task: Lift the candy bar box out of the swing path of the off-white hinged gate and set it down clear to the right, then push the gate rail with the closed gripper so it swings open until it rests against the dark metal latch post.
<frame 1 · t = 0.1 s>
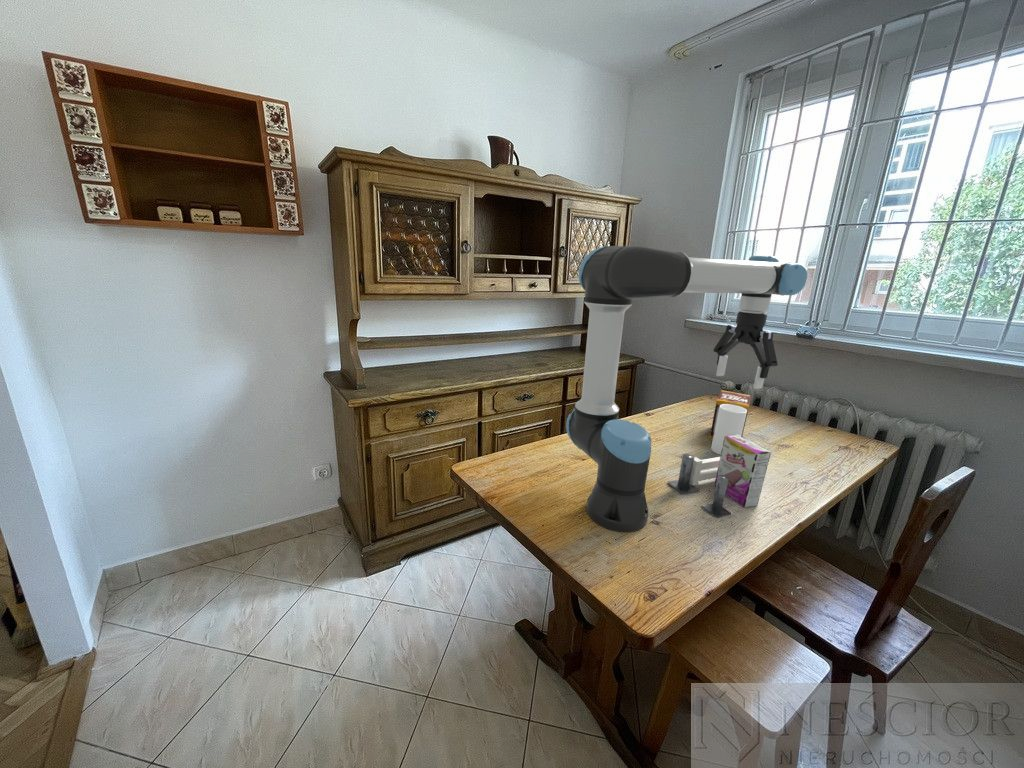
hand: (737, 381, 122), 28 cm above the table, fingers open, 13 cm apart
gate: (711, 468, 117), point 5 cm above the table, hinge at 0.0°
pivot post: (682, 487, 115), on the table
supplement box: (726, 436, 153), on the table
candy bar box: (734, 496, 112), on the table
cup: (723, 451, 140), on the table
latch post: (716, 511, 104), on the table
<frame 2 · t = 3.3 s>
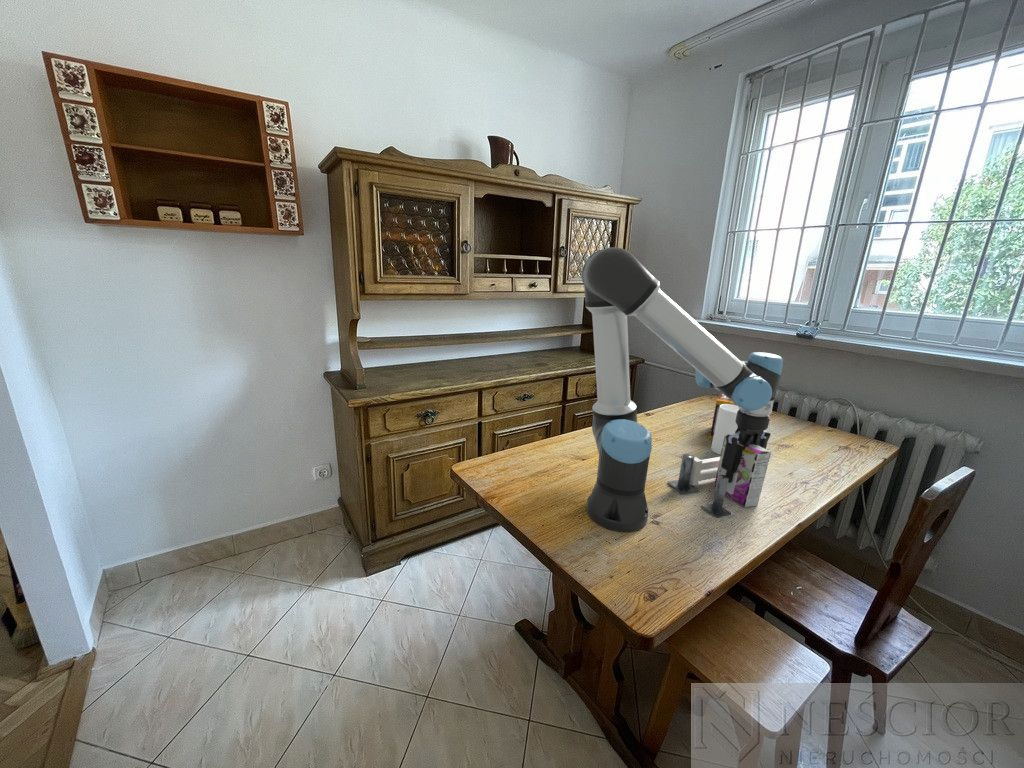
hand: (736, 489, 111), 2 cm above the table, fingers closed on candy bar box, 5 cm apart
candy bar box: (734, 496, 112), on the table, touching gripper
everything else where it was.
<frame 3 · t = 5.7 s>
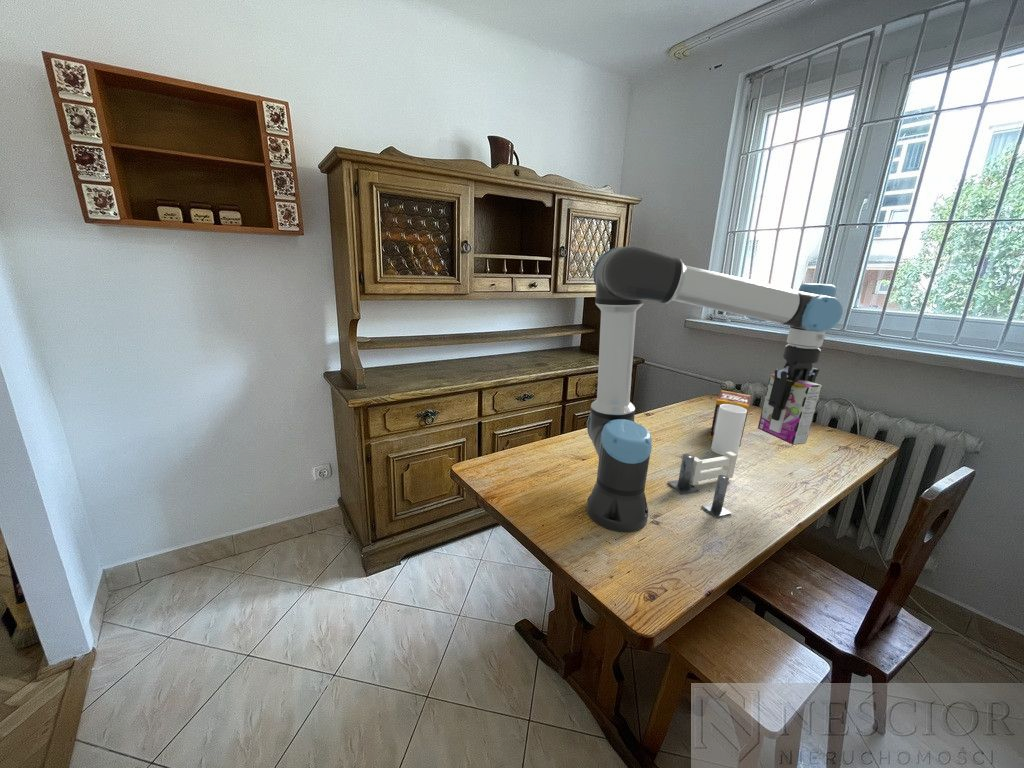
hand: (782, 429, 109), 19 cm above the table, fingers closed on candy bar box, 5 cm apart
candy bar box: (780, 437, 110), point 17 cm above the table, touching gripper
everything else where it was.
when the fingers open (3 cm above the table, at t = 8.4 s): candy bar box drops 1 cm, on the table.
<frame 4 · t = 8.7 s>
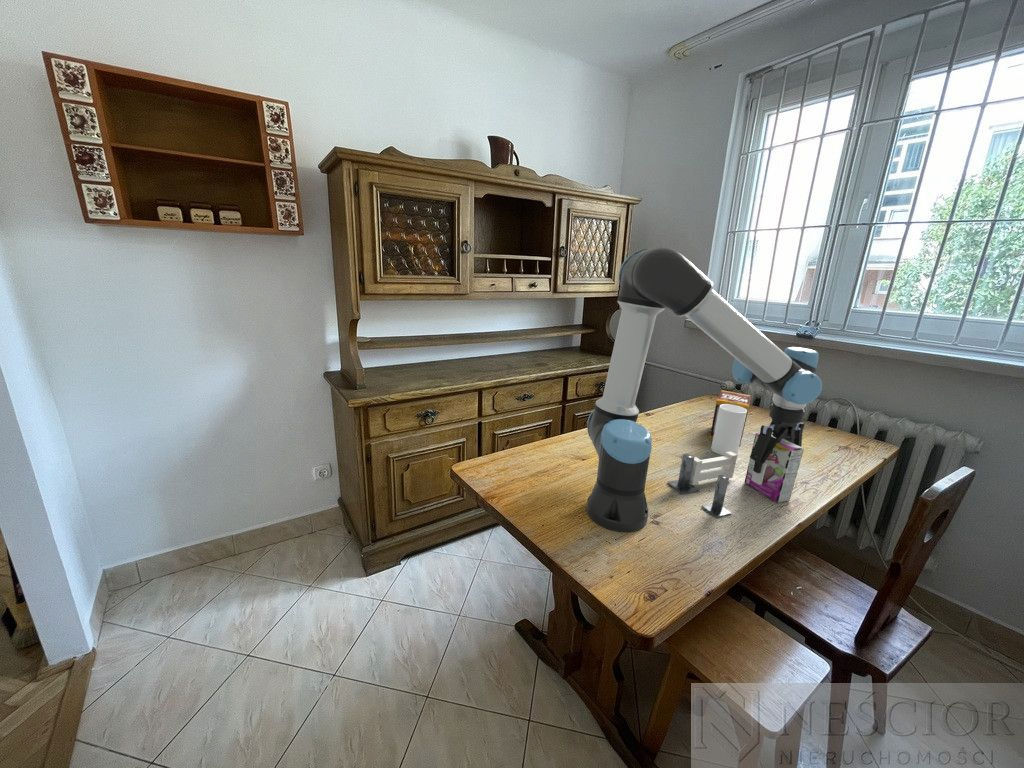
hand: (769, 479, 113), 4 cm above the table, fingers open, 9 cm apart
candy bar box: (765, 492, 115), on the table
everything else where it was.
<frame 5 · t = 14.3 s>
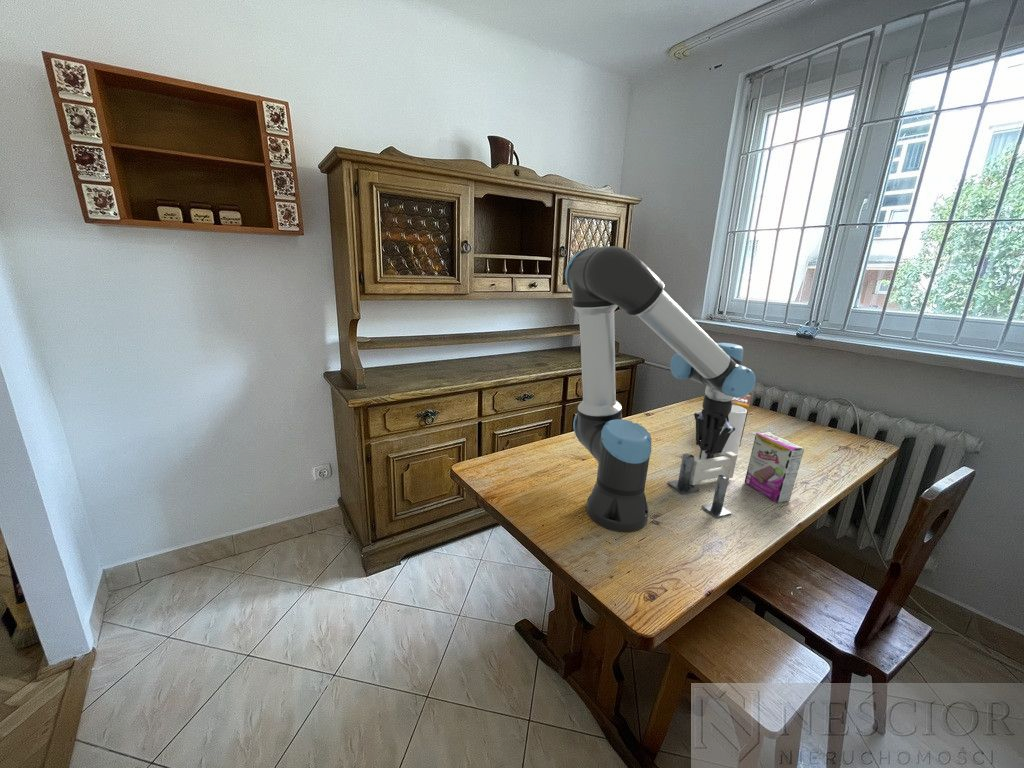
hand: (703, 470, 122), 2 cm above the table, fingers closed
gate: (711, 468, 117), point 5 cm above the table, hinge at 0.1°, touching gripper
everything else where it was.
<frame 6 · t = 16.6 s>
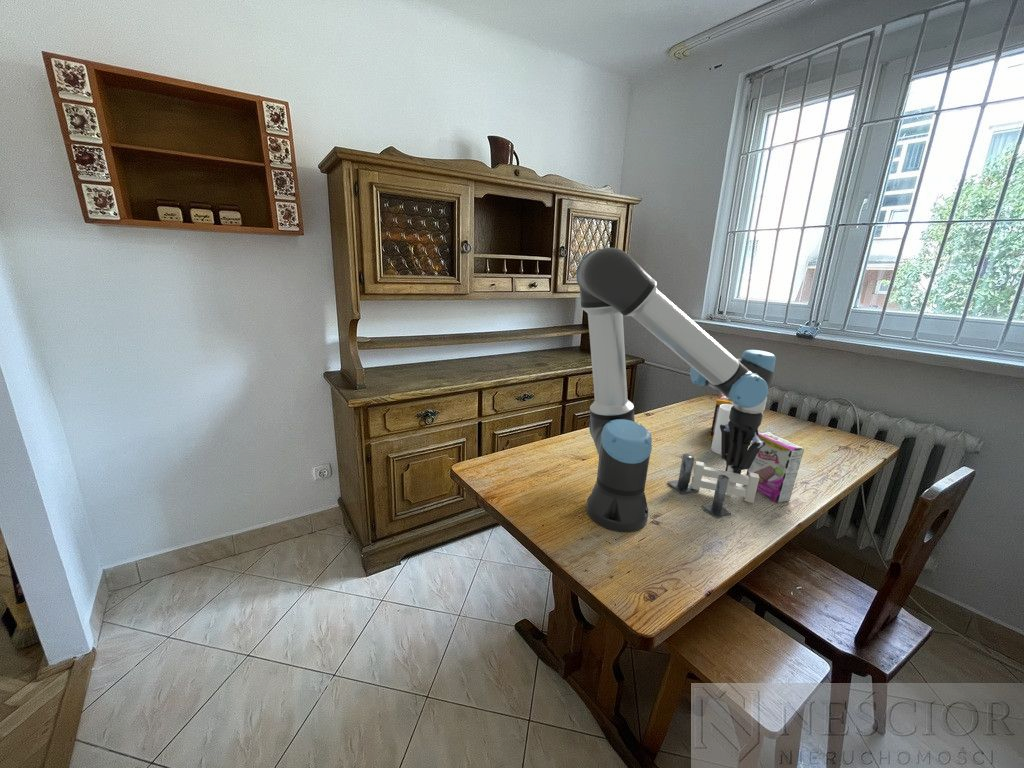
hand: (729, 486, 113), 2 cm above the table, fingers closed
gate: (723, 481, 110), point 5 cm above the table, hinge at 44.6°, touching gripper
everything else where it was.
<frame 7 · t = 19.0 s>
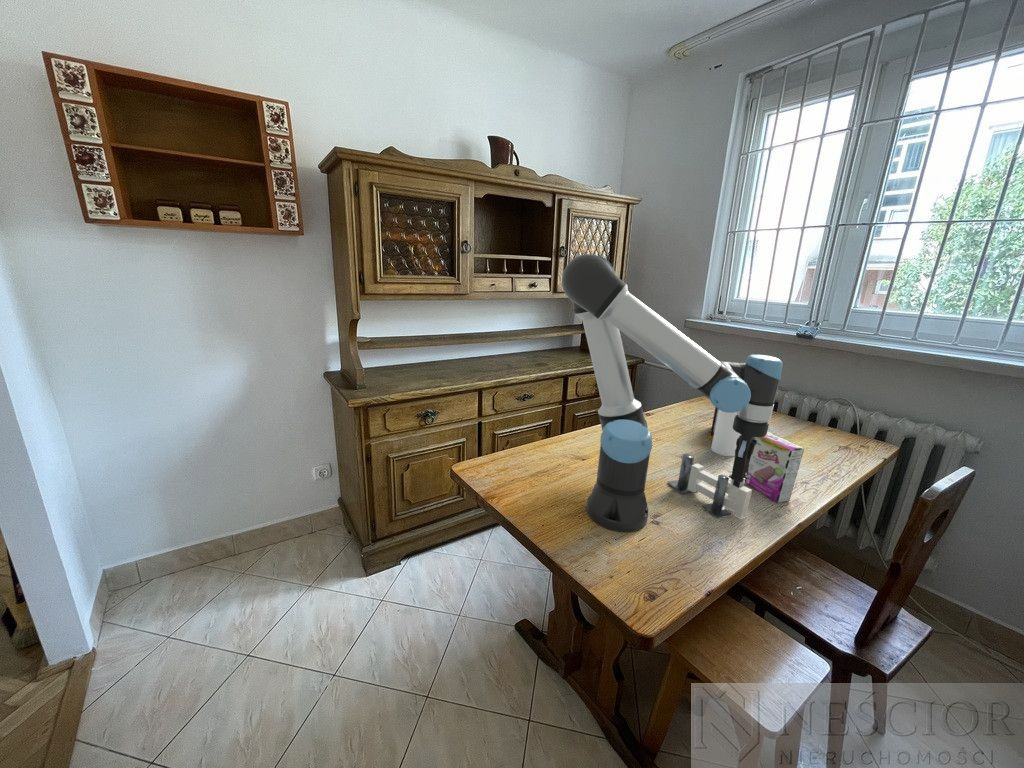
hand: (733, 499, 106), 2 cm above the table, fingers closed
gate: (717, 489, 106), point 5 cm above the table, hinge at 79.5°, touching gripper
everything else where it was.
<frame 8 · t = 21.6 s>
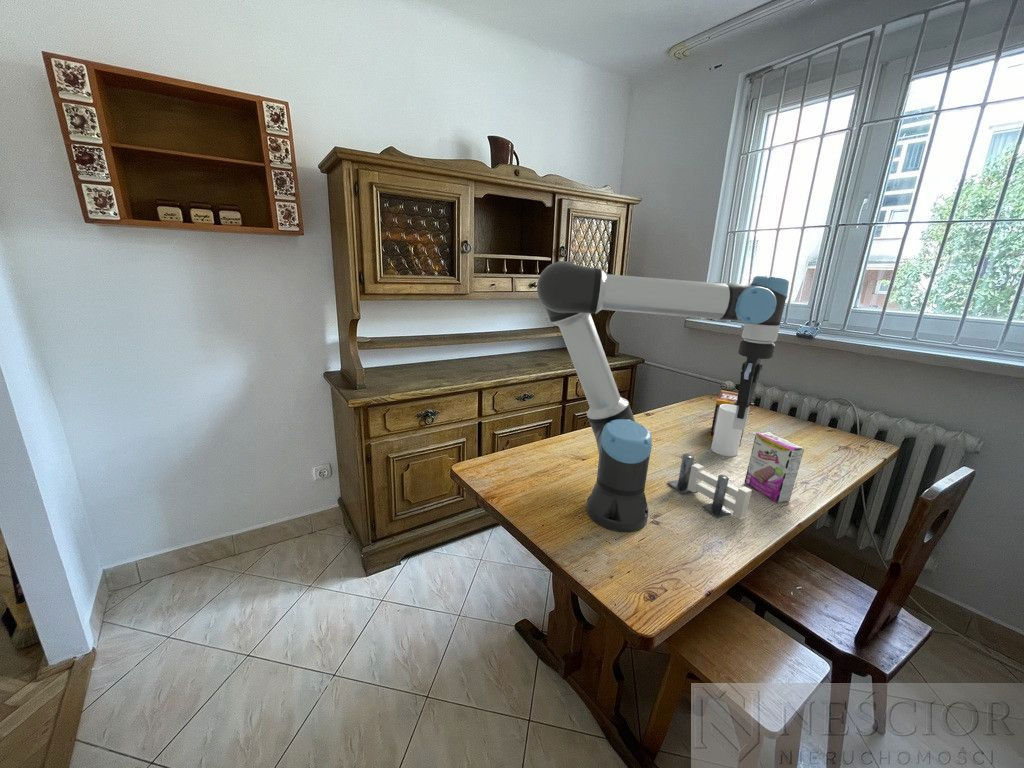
hand: (738, 428, 106), 20 cm above the table, fingers closed
gate: (717, 489, 106), point 5 cm above the table, hinge at 79.7°
everything else where it was.
at the end: gate at +80° (first picture: +0°); candy bar box inside the target area (0.6 cm from its centre), on the table; candy bar box tilted 0° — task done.
